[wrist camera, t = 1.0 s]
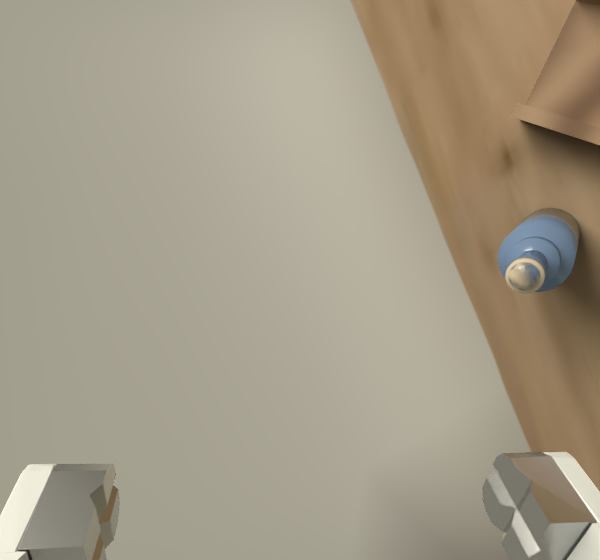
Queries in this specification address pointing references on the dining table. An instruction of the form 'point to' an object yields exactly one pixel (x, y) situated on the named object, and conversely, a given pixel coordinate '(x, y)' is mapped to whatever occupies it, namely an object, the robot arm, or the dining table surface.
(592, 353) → the dining table surface
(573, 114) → the holder
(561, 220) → the bottle
